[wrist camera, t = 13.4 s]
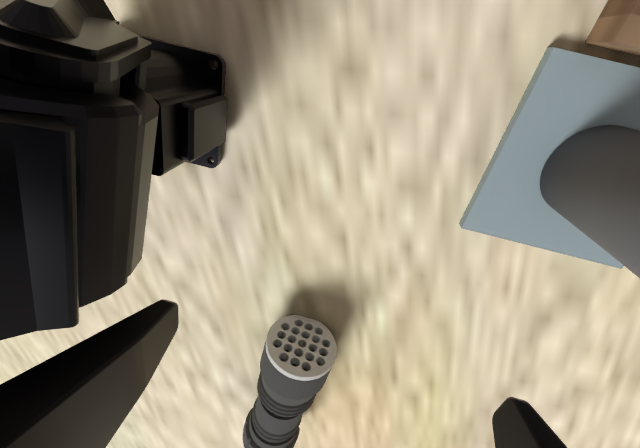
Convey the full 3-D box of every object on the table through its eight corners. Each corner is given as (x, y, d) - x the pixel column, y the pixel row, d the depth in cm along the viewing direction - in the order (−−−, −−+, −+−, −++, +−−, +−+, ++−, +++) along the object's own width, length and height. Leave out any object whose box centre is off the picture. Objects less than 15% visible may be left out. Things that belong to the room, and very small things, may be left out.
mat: (459, 223, 20) (461, 228, 19) (547, 47, 15) (554, 47, 15) (614, 263, 20) (621, 268, 19) (756, 97, 15) (770, 98, 14)
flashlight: (298, 421, 34) (287, 481, 29) (250, 406, 34) (231, 464, 29) (339, 326, 26) (332, 386, 21) (277, 307, 26) (256, 363, 21)
